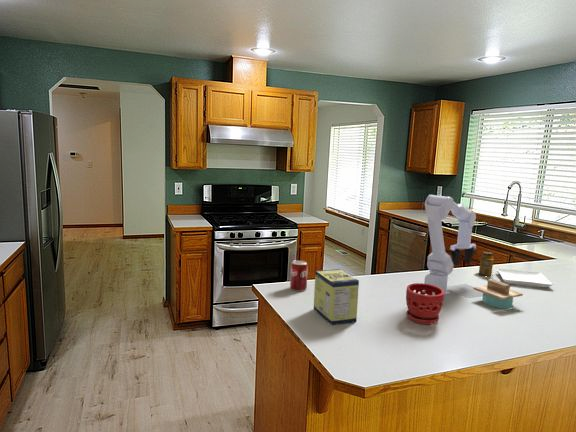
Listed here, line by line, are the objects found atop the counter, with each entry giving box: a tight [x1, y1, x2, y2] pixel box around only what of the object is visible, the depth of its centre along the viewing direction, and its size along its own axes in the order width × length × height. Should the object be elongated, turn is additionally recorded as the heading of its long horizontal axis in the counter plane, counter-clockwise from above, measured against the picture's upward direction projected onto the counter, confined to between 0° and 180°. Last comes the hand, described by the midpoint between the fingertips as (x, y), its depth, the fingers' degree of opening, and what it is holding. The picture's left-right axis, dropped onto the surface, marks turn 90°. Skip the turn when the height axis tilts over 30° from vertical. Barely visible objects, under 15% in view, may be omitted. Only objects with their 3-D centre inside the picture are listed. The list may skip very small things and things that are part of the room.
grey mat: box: [446, 283, 483, 299], centre depth 186 cm, size 15×15×1 cm
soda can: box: [289, 260, 309, 292], centre depth 180 cm, size 7×7×12 cm
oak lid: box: [473, 278, 524, 300], centre depth 170 cm, size 13×13×4 cm
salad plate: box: [495, 268, 553, 288], centre depth 205 cm, size 21×21×3 cm
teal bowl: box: [481, 293, 514, 310], centre depth 171 cm, size 11×11×5 cm
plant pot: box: [405, 282, 445, 325], centre depth 151 cm, size 13×13×12 cm
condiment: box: [473, 251, 495, 279], centre depth 213 cm, size 7×8×12 cm
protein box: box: [313, 268, 360, 326], centre depth 151 cm, size 10×16×16 cm
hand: (461, 264), depth 193 cm, fingers open, 7 cm apart
